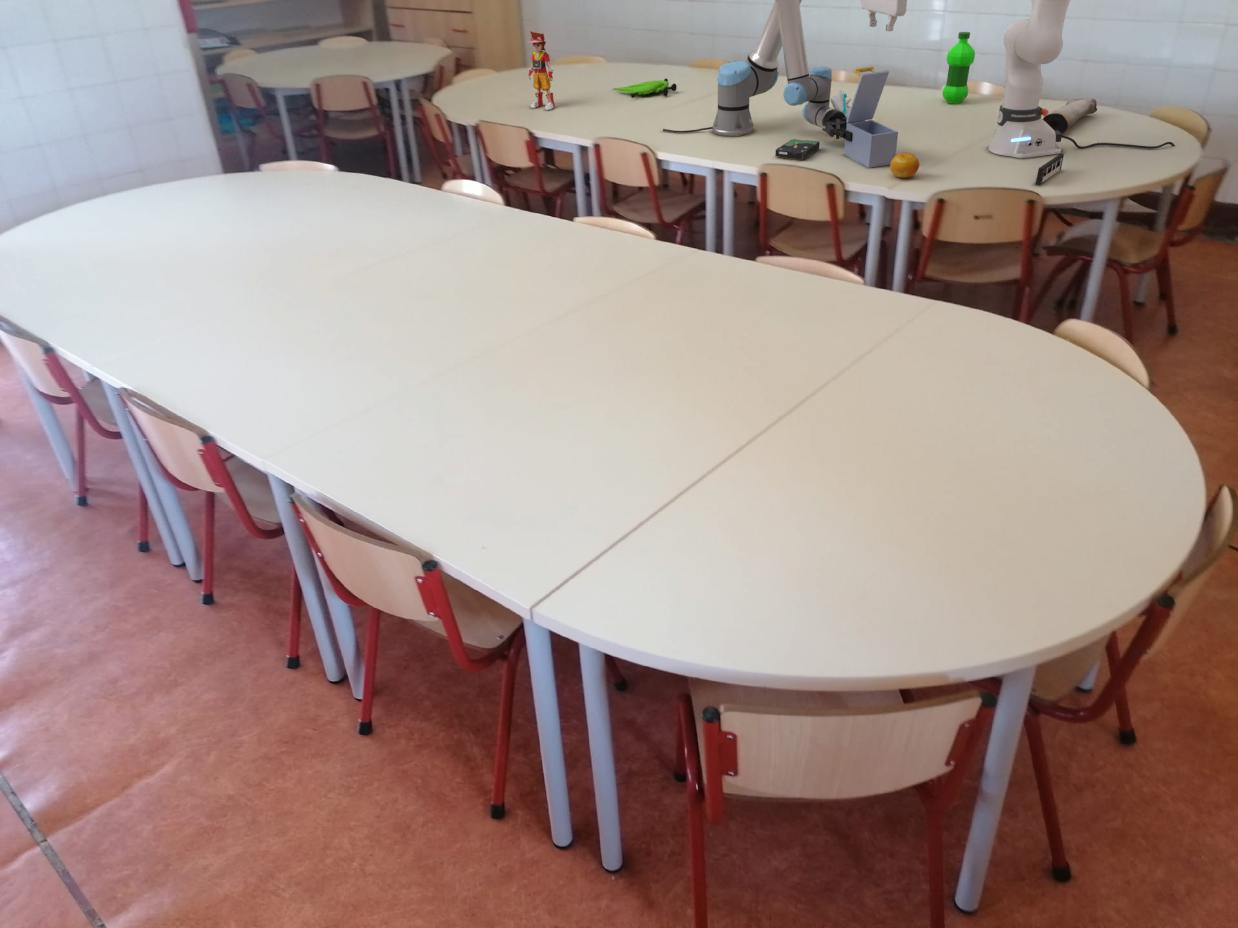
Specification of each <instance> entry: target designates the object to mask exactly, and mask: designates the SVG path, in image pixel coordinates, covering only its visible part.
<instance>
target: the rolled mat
mask: <svg viewBox="0 0 1238 928" xmlns="http://www.w3.org/2000/svg"><path fill="white" fill-rule="evenodd" d="M1097 106H1098V105H1097V100H1096V99H1095V98H1089V97H1084V98H1077V99H1071V100H1069V101H1067V102H1066V104H1065V105H1063V106H1061V107H1059V108H1057V109H1055V110H1053V111H1052V112H1049V113H1048V114H1047V116H1043V117H1042V119H1043V120H1044V121H1045V122H1046V123H1047V124H1048V125H1049V126H1050V127H1051V128H1052V129H1053V130H1058V131H1059V132H1061V133H1062V135H1063V134H1065V133H1066V132H1067V131H1068V130H1069V129H1070V128H1071V127H1072V126H1073V125H1074V124H1075V123H1076V122H1077V121H1079V120H1080V119H1081V118H1082V117H1084V116H1086V115H1092V114H1095V113H1096V112H1097V111H1098V108H1097Z"/></svg>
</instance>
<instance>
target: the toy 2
mask: <svg viewBox="0 0 1238 928" xmlns="http://www.w3.org/2000/svg"><path fill="white" fill-rule="evenodd" d="M669 85H670V83H669V79H668V78H664V79H663V80H649V81H644V82H640V83H634V84H629V85H627V86H621V87H613V88H612V89H613V90H616V91H619V92H623V93H627V94H628V93H629V94H631V95H630V96H631V98H632V99H634V98H636V96H637V95H650V94H652V93H654V94H658V93H662V95H663V96H665V97H667V96H668V95H669V90H671V91H672V92H676V91H677V84H676V83H672V84H671V86H669Z"/></svg>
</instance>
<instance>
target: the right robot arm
mask: <svg viewBox="0 0 1238 928" xmlns="http://www.w3.org/2000/svg"><path fill="white" fill-rule="evenodd" d="M1070 2H1071V0H1031V10H1030V16H1029V18H1024V19H1019V20H1018V19H1017V20H1015V21H1014V22H1012V23H1010V25H1008V27H1007V28H1006V29H1005V31H1004V34H1003V44H1004V49H1005V72H1006V73H1005V83H1004V90H1003V96H1002V102H1001V104H1000V105H999V110H998V113H997V122H996V123H997V124H996V128H995V132H994V135H993V137H992V140H991V143H990V145H989V147H988V151H989V152H991V153H993V154H995V155H1000V156H1004V157H1013V158H1016V159H1028V158H1035V157H1043V156H1051V155H1059V154H1062V147H1061V145H1059V144H1058V143H1061V142H1062V139H1064V140H1068V141H1070V142H1072V143H1073V145H1074V146H1075V147H1076V148H1077V149H1080V150H1083V149H1088V148H1092V147H1095V146H1113V147H1114V146H1115V147H1125V148H1126V147H1127V148H1136V149H1146V150H1147V149H1148V150H1149V149H1150V150H1151V149H1152V150H1153V149H1154V150H1155V149H1159V148H1163V147H1164V146H1167V145H1170V146H1171V147H1176V145H1175V143H1174V142H1172V141H1167V142H1164V143H1162V144H1159V145H1148V146H1147V145H1138V144H1128V143H1118V142H1117V143H1115V142H1095V143H1091V144H1088V145H1085V146H1082V145H1079V144H1078V143H1077V141H1076V140H1075V139H1074V138H1072V137H1070V136H1066V135H1063V134H1062V133H1061V132H1059V131H1058V130H1053V129H1052V128H1051V127H1050V126H1049V125H1048V124H1047V123H1046V122H1045V121H1044V120H1043V117H1045V116H1047V115H1048V114H1050V111H1049V109H1047V108H1043V107H1041V106H1039V104H1040V98H1041V94H1042V88H1043V85H1044V78H1043V75H1042V65H1047V64H1050V63H1052V62H1054V61H1055V60H1056V59H1057V58H1058V57H1059V55H1060V54H1061V52H1062V50H1063V46H1064V40H1063V30H1064V25H1065V20H1066V14H1067V11H1068V8H1069V4H1070ZM907 5H908V0H860V6H861V8H862V10H866V11H867V15H868V16H867V17H868V20H869V23H868V26H869V27H871V28H875V27H877V25H878V19H876V18H877V17H876V14H877V13H878V14H882V15H887V16H888V23H886V25H885V31H886V32H893V31H894V26H895V24H896V22H897V20H898V17H904V16H905V14H906V13H907V9H908V8H907V7H908V6H907ZM1042 116H1043V117H1042Z"/></svg>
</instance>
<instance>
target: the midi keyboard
mask: <svg viewBox="0 0 1238 928" xmlns="http://www.w3.org/2000/svg"><path fill="white" fill-rule="evenodd" d="M1064 157H1065V153H1059V154H1057V155H1056V156H1055V157H1052V159H1051V160H1049V161H1047V162H1045V164H1042V165H1041V166H1039V167H1038V169H1037V175H1036V179H1035V186H1040V185H1042V183H1044V182H1045V181H1047V180H1048V179H1049V178H1051V177H1052V176H1054V175H1055V174H1056V173H1058V172H1060V171H1061V170H1062V165H1063V161H1064Z"/></svg>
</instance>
